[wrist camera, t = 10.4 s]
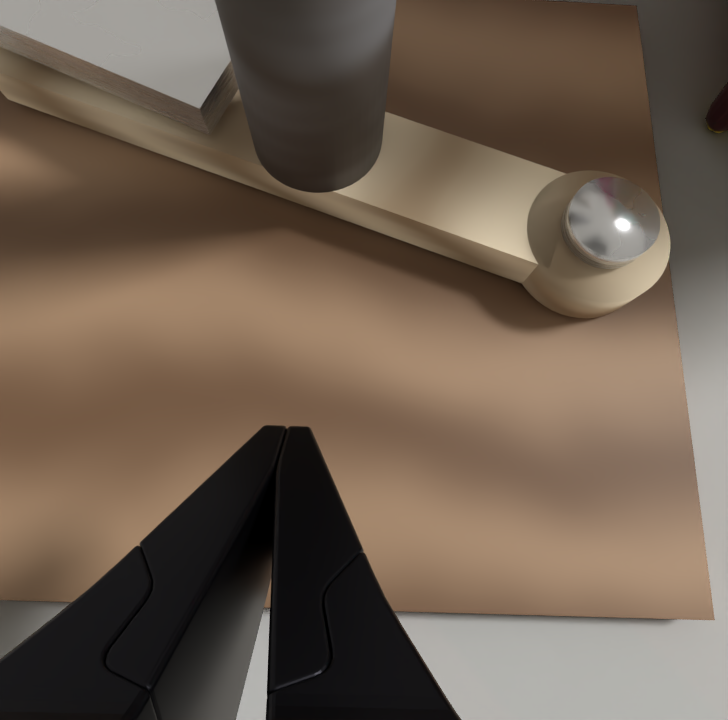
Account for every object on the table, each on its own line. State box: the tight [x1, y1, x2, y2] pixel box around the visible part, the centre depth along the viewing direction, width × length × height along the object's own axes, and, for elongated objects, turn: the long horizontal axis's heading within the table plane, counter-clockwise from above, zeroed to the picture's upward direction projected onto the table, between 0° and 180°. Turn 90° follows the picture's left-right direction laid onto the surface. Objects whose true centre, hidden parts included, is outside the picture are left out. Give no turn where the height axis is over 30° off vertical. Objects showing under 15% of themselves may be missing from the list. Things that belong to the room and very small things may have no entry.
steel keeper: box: [0, 0, 660, 269], centre depth 18 cm, size 26×5×4 cm, turn 66°
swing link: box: [0, 0, 670, 318], centre depth 13 cm, size 24×5×12 cm, turn 69°
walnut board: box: [0, 0, 714, 620], centre depth 19 cm, size 24×28×1 cm
